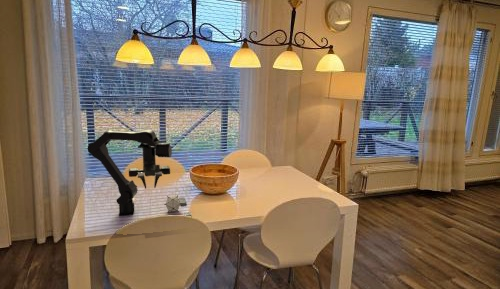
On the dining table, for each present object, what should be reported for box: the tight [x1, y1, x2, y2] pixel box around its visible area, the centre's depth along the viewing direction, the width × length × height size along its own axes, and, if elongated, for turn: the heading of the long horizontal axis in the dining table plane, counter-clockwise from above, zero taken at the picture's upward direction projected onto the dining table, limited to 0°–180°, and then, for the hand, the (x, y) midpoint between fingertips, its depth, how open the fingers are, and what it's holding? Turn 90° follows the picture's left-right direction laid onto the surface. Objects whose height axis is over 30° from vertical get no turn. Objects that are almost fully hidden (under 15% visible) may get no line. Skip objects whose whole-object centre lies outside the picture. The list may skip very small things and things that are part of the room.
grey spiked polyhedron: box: [163, 194, 182, 214], centre depth 167 cm, size 9×8×10 cm
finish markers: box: [178, 196, 192, 217], centre depth 171 cm, size 3×25×2 cm, turn 19°
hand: (150, 188), depth 161 cm, fingers open, 4 cm apart
